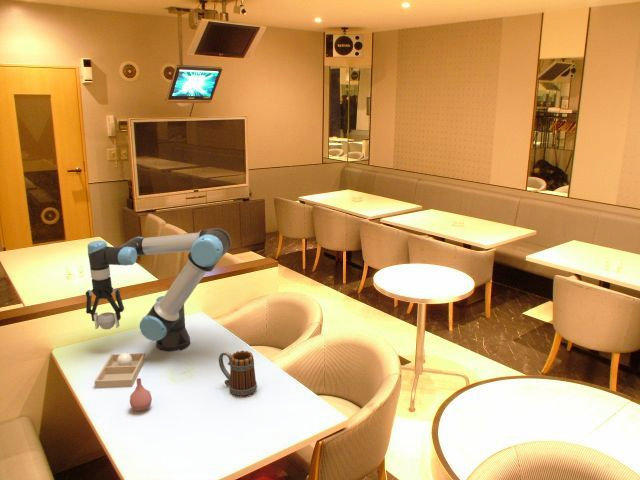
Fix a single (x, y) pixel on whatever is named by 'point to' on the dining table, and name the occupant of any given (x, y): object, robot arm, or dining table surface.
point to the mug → (239, 373)
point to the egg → (124, 359)
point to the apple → (106, 320)
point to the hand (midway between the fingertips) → (107, 327)
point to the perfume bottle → (140, 397)
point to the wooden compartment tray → (120, 372)
